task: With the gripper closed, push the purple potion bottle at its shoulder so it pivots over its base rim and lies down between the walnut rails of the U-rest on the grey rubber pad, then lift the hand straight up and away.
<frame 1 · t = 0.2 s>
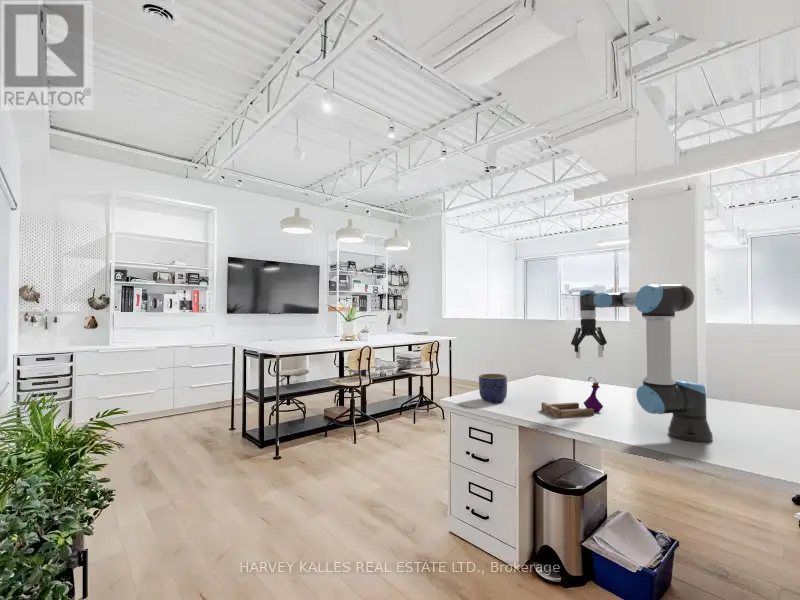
hand: (589, 357, 212), 28 cm above the table, fingers open, 13 cm apart
u rest: (569, 412, 206), on the table
planter: (493, 401, 235), on the table
purple potion bottle: (593, 411, 208), on the table
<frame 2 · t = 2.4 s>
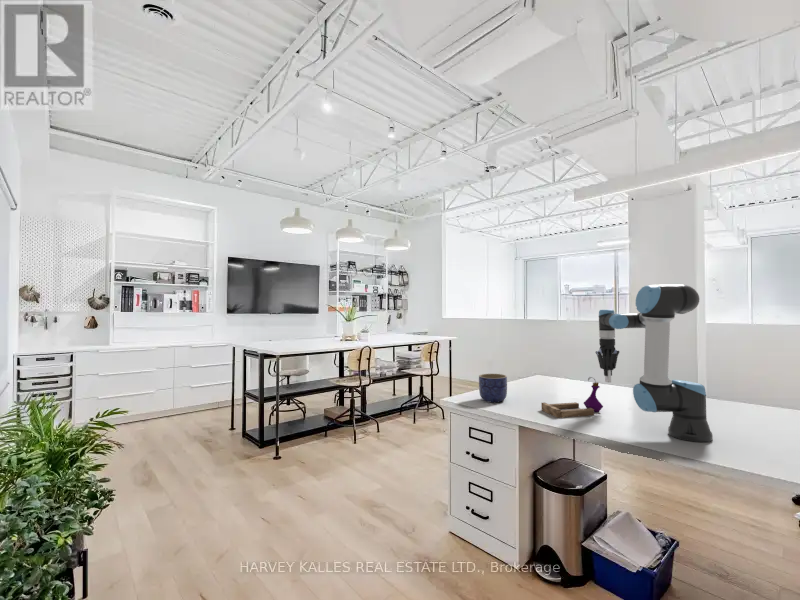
hand: (608, 381, 210), 15 cm above the table, fingers closed
nothing on the table moved.
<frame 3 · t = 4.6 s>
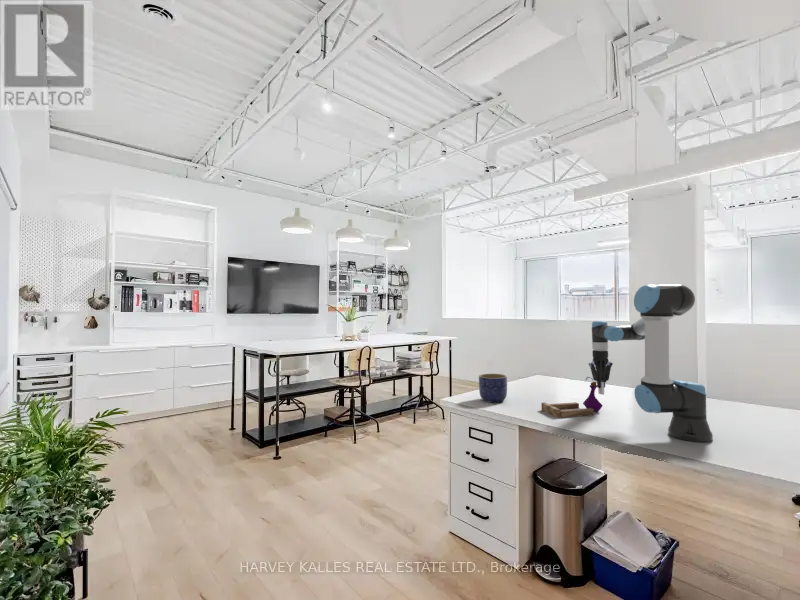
hand: (601, 393, 209), 9 cm above the table, fingers closed
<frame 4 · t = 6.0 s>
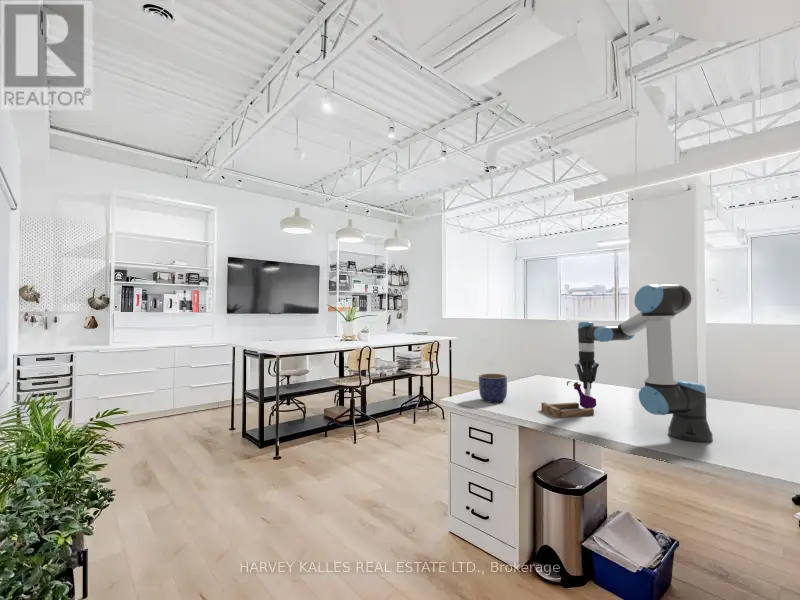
hand: (587, 395, 208), 9 cm above the table, fingers closed
purple potion bottle: (592, 407, 208), point 2 cm above the table, touching u rest
everything else where it was.
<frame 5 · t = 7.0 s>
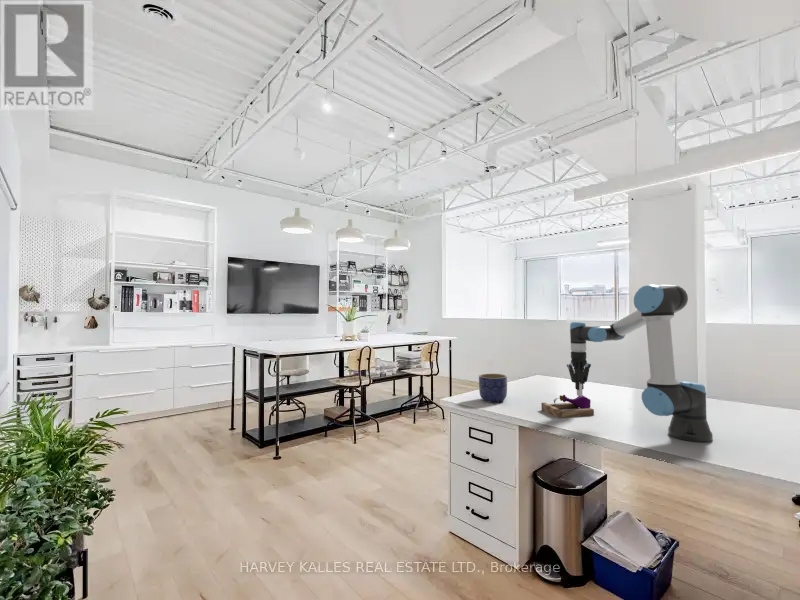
hand: (579, 395, 207), 8 cm above the table, fingers closed
purple potion bottle: (589, 403, 208), point 4 cm above the table, touching u rest
everything else where it was.
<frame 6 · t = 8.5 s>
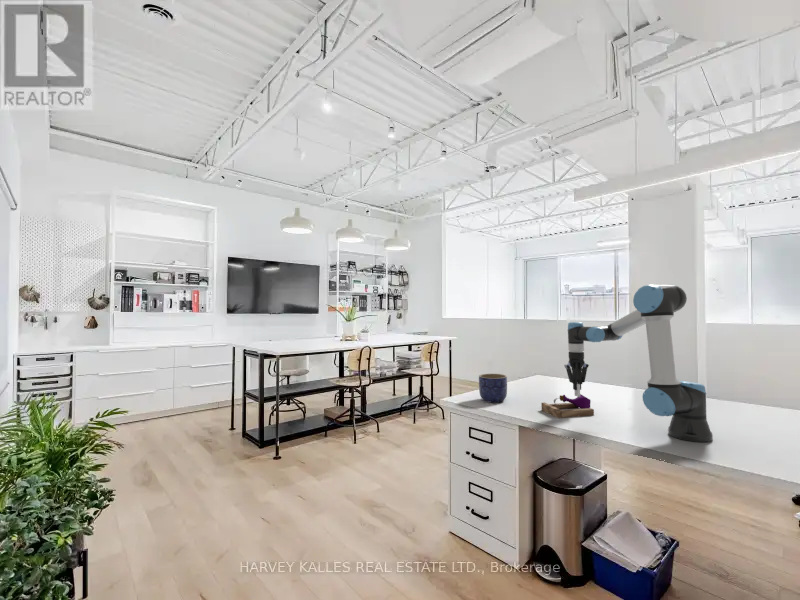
hand: (577, 395, 207), 8 cm above the table, fingers closed
nothing on the table moved.
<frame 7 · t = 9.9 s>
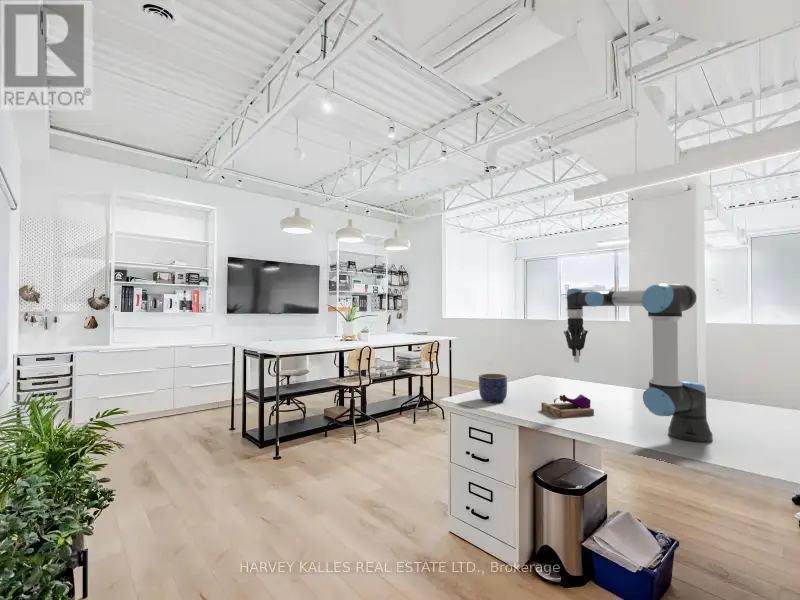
hand: (576, 362, 207), 26 cm above the table, fingers closed
nothing on the table moved.
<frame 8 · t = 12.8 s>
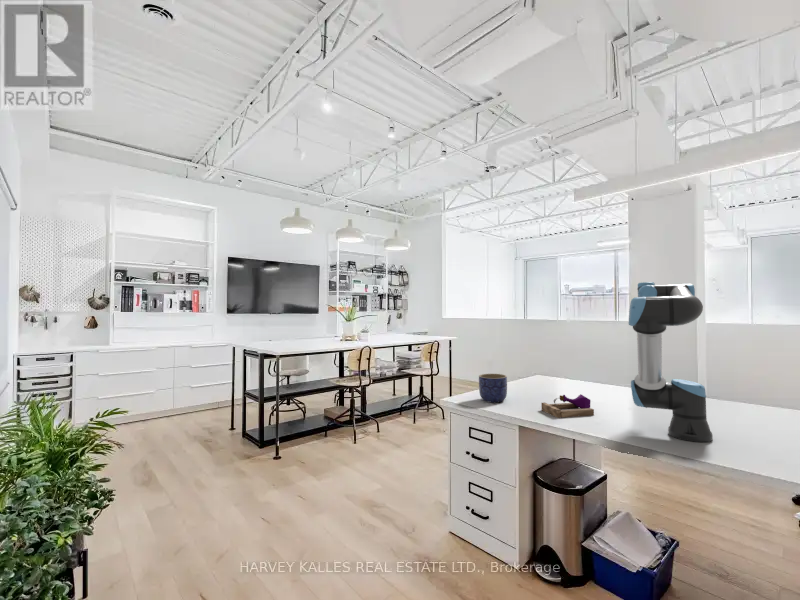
hand: (648, 359, 197), 28 cm above the table, fingers closed
nothing on the table moved.
at the end: purple potion bottle tilted 87°; purple potion bottle inside the target area (5.7 cm from its centre), point 4.1 cm above the table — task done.
